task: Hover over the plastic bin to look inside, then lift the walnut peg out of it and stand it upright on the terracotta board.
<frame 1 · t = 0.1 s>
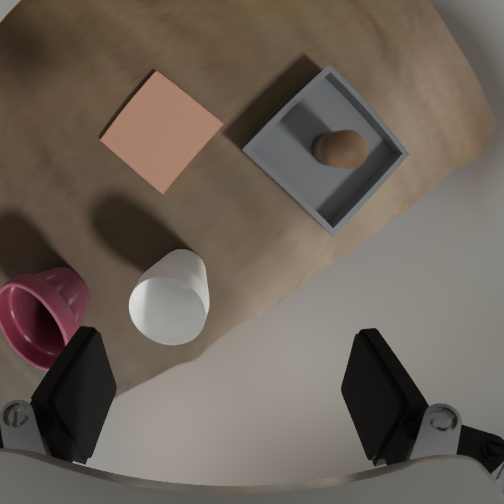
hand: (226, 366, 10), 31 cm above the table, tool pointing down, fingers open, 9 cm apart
bin: (325, 149, 37), on the table
terracotta board: (159, 131, 35), on the table
plant pot: (67, 290, 42), on the table
cup: (183, 270, 42), on the table
walnut peg: (327, 149, 37), point 1 cm above the table, touching bin
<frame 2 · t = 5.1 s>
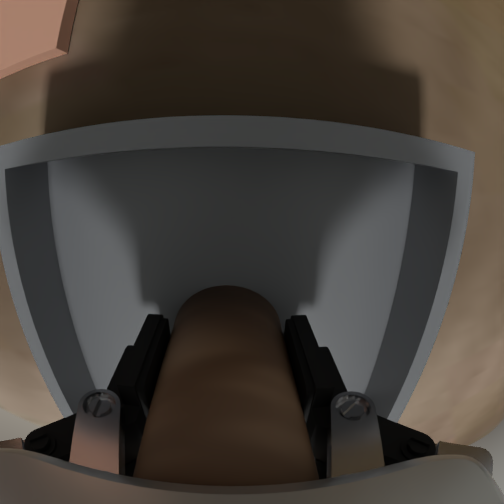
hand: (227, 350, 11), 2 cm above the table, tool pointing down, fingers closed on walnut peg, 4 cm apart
bin: (227, 322, 13), on the table
walnut peg: (227, 333, 12), point 1 cm above the table, touching bin, gripper
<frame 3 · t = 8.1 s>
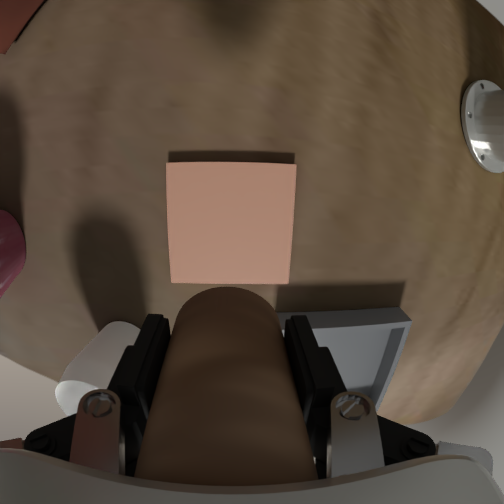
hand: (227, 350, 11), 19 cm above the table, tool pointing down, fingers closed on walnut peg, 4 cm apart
bin: (331, 362, 36), on the table
terracotta board: (230, 223, 29), on the table
plant pot: (4, 241, 28), on the table
cup: (126, 341, 33), on the table
walnut peg: (227, 334, 12), point 18 cm above the table, touching gripper
when the fingers open (4 cm above the table, at t = 11.4 s): walnut peg drops 1 cm, resting on terracotta board.
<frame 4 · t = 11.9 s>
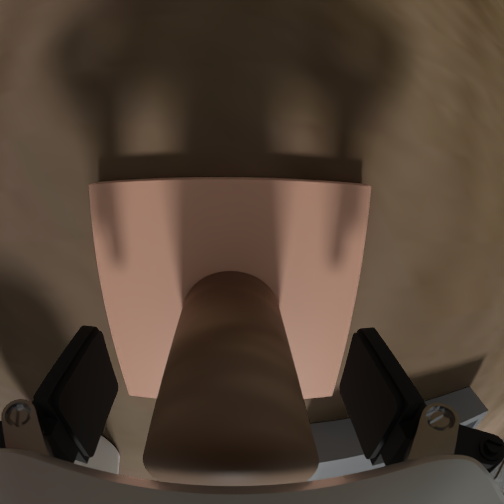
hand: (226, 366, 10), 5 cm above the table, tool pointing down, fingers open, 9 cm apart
bin: (372, 458, 21), on the table
terracotta board: (228, 304, 14), on the table
cup: (85, 440, 19), on the table
walnut peg: (230, 315, 13), point 1 cm above the table, touching terracotta board
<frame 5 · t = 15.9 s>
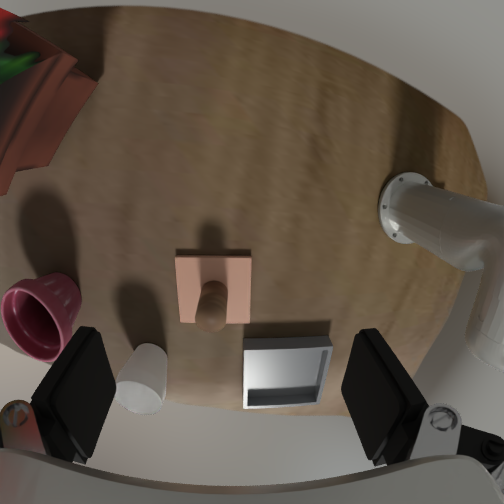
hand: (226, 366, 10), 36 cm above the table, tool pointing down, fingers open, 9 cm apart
potted plant: (50, 104, 36), on the table
bin: (283, 369, 56), on the table
terracotta board: (214, 289, 49), on the table
plant pot: (63, 292, 48), on the table
cup: (151, 355, 53), on the table
walnut peg: (214, 292, 48), point 1 cm above the table, touching terracotta board
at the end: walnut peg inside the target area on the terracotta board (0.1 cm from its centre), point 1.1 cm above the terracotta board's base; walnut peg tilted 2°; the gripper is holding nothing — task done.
